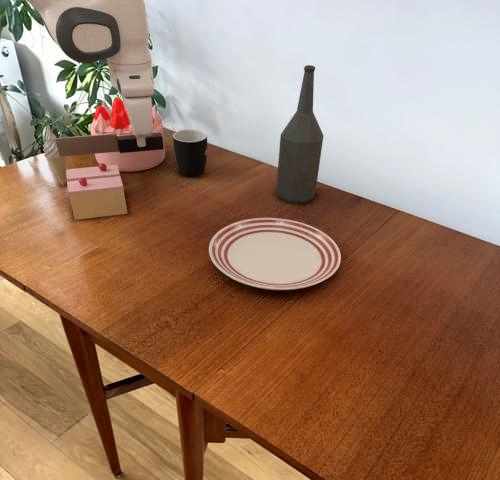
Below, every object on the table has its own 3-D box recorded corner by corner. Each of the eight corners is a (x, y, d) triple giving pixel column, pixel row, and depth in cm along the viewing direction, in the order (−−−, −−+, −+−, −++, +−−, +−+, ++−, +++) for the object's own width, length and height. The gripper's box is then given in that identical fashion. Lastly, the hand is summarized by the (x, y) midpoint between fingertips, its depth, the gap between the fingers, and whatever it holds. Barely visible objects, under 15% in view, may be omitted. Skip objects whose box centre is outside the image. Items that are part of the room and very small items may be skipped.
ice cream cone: (48, 185, 120) (32, 125, 109) (64, 179, 123) (50, 120, 112) (61, 191, 118) (45, 130, 107) (77, 184, 121) (63, 124, 110)
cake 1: (75, 220, 108) (66, 184, 102) (72, 196, 116) (64, 162, 110) (127, 213, 111) (121, 178, 105) (121, 191, 119) (116, 157, 113)
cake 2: (179, 159, 134) (175, 107, 125) (121, 179, 124) (112, 124, 114) (138, 139, 144) (132, 90, 134) (81, 157, 133) (70, 104, 123)
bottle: (281, 183, 125) (292, 58, 105) (317, 189, 123) (335, 62, 103) (272, 201, 118) (282, 69, 97) (310, 207, 116) (328, 74, 96)
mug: (211, 178, 126) (210, 140, 119) (178, 181, 124) (175, 143, 117) (202, 160, 134) (201, 124, 127) (171, 162, 132) (168, 126, 126)
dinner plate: (245, 217, 111) (245, 204, 109) (354, 247, 103) (357, 234, 101) (184, 276, 93) (183, 262, 91) (311, 319, 85) (314, 305, 83)
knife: (59, 158, 102) (55, 140, 99) (59, 154, 103) (54, 136, 101) (163, 149, 107) (162, 131, 105) (162, 145, 109) (160, 128, 106)
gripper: (111, 63, 103) (120, 127, 112) (121, 90, 89) (132, 161, 98) (139, 61, 104) (147, 125, 114) (154, 88, 90) (161, 158, 100)
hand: (140, 142), depth 106 cm, fingers closed on knife, 2 cm apart
